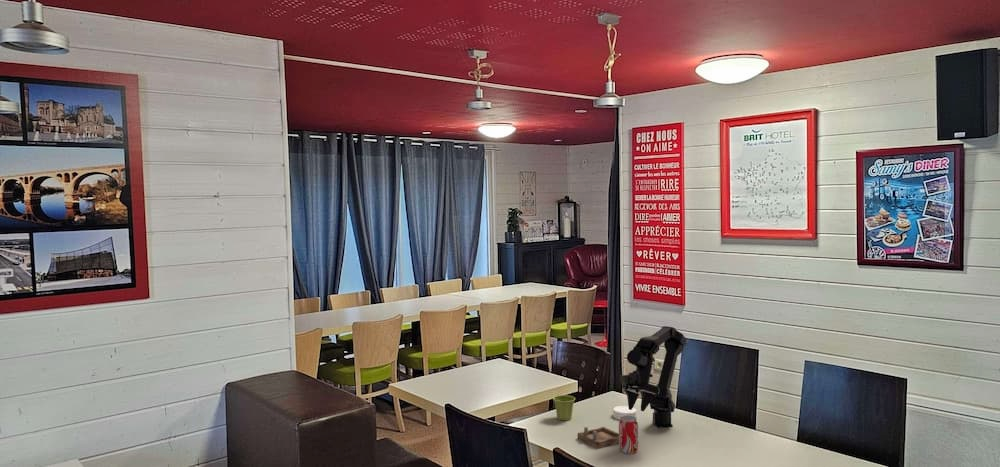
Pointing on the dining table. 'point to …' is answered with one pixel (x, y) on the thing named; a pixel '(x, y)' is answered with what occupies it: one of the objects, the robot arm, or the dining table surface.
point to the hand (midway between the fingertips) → (636, 410)
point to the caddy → (599, 437)
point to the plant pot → (564, 406)
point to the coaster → (624, 412)
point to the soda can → (628, 434)
